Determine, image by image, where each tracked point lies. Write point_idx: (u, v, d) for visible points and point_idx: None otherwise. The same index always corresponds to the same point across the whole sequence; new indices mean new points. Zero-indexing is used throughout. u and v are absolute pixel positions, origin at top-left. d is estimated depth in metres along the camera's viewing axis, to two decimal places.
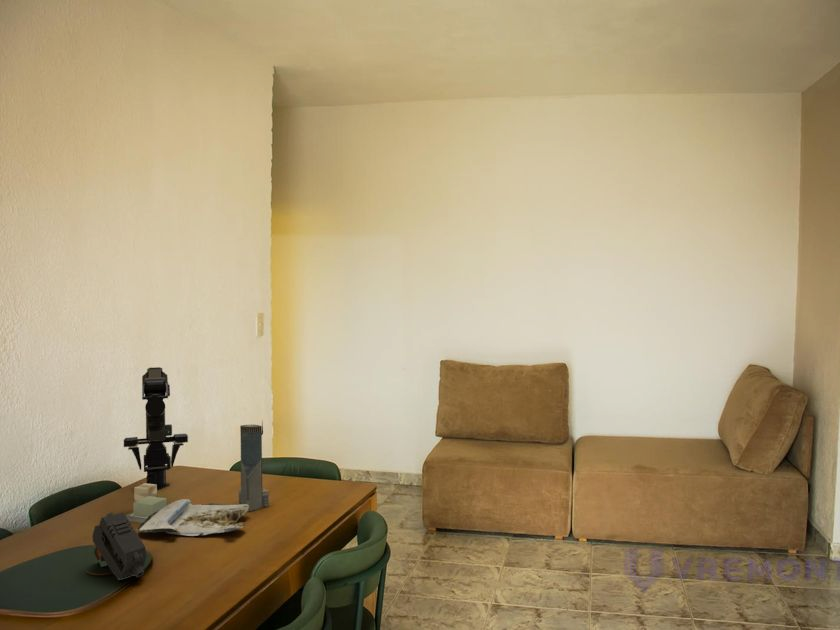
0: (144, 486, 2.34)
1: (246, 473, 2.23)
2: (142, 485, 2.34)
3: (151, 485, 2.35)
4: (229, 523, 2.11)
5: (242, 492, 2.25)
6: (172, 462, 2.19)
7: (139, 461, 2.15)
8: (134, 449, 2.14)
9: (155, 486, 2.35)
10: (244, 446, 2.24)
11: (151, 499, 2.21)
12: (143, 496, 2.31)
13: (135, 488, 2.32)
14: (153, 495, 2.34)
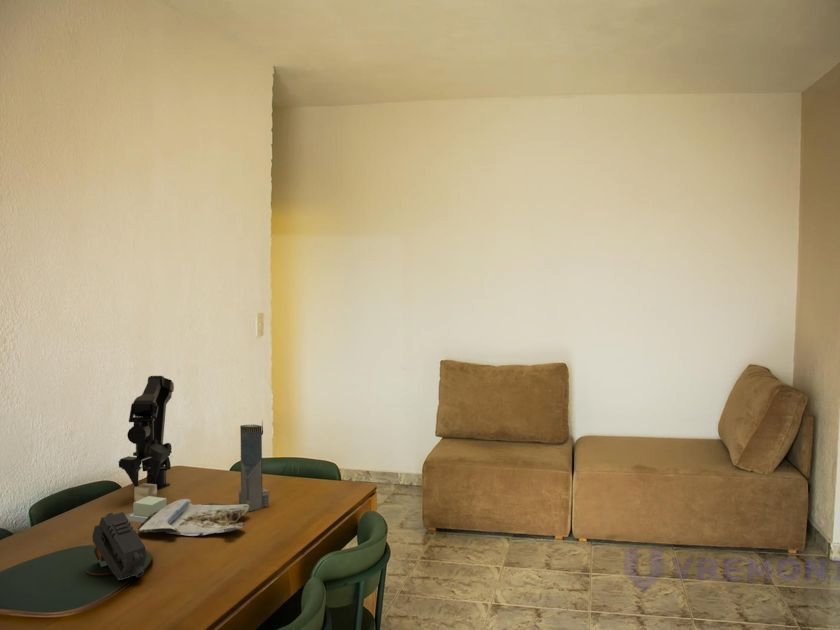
0: (144, 486, 2.34)
1: (246, 473, 2.23)
2: (142, 485, 2.34)
3: (151, 485, 2.35)
4: (229, 523, 2.11)
5: (242, 492, 2.25)
6: (157, 474, 2.38)
7: (137, 479, 2.29)
8: (138, 469, 2.27)
9: (155, 486, 2.35)
10: (244, 446, 2.24)
11: (151, 499, 2.21)
12: (143, 496, 2.31)
13: (135, 488, 2.32)
14: (153, 495, 2.34)
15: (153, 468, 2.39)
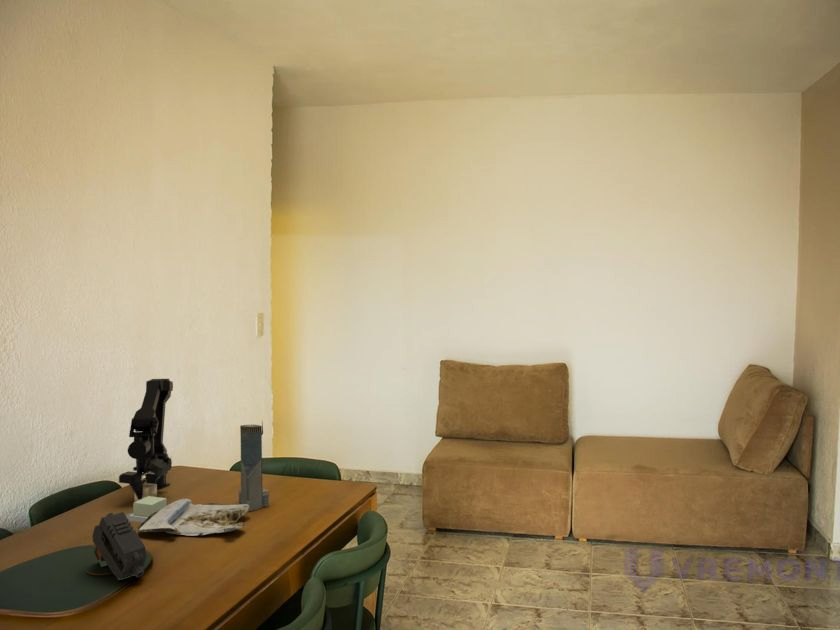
0: (144, 485, 2.34)
1: (246, 473, 2.23)
2: None
3: (151, 485, 2.35)
4: (229, 523, 2.11)
5: (242, 492, 2.25)
6: None
7: (141, 492, 2.31)
8: (142, 483, 2.29)
9: (155, 486, 2.35)
10: (244, 446, 2.24)
11: (151, 499, 2.21)
12: (143, 496, 2.32)
13: None
14: (153, 495, 2.34)
15: None
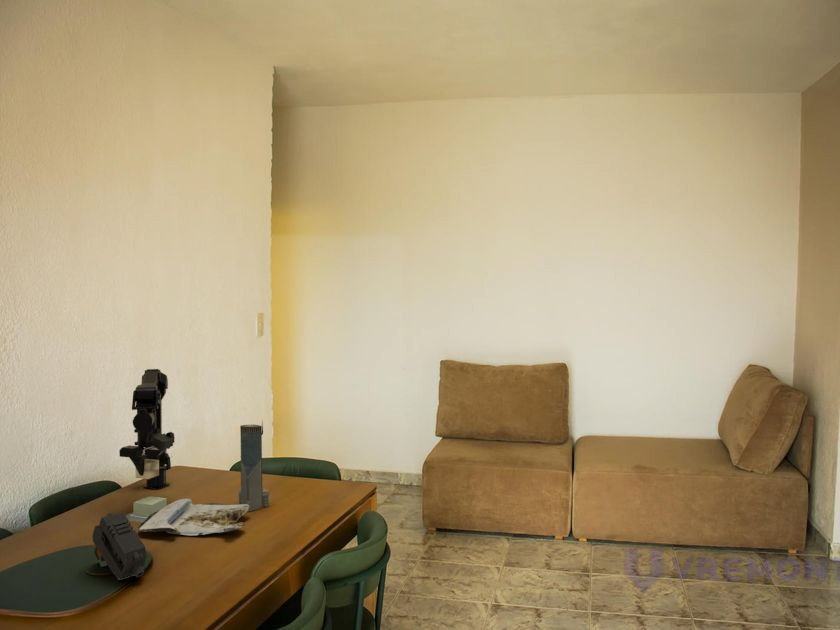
0: (145, 461, 2.25)
1: (246, 473, 2.23)
2: (144, 461, 2.25)
3: (153, 460, 2.25)
4: (229, 523, 2.11)
5: (242, 492, 2.25)
6: None
7: (143, 467, 2.22)
8: (143, 457, 2.20)
9: (157, 461, 2.26)
10: (244, 446, 2.24)
11: (151, 499, 2.21)
12: (145, 471, 2.22)
13: None
14: (155, 471, 2.25)
15: None
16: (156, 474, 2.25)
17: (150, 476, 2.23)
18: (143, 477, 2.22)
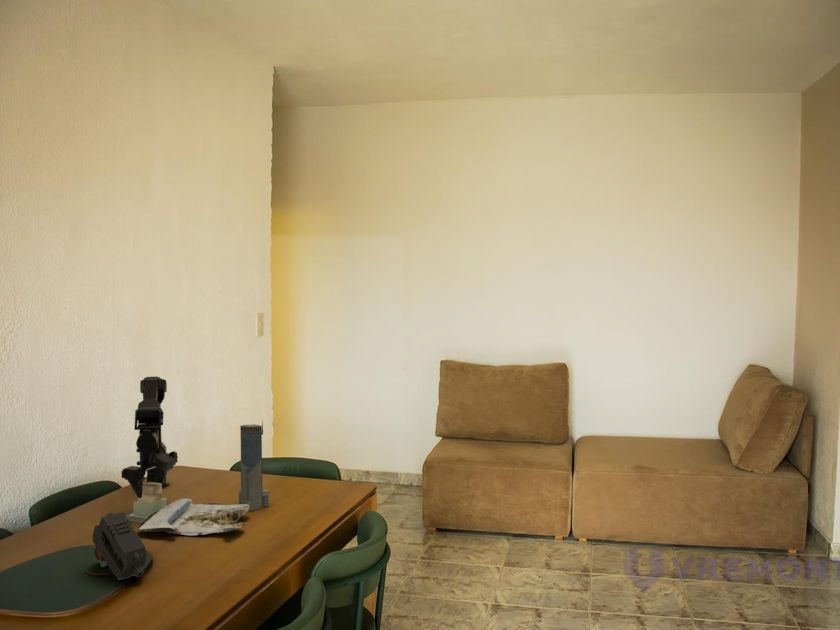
0: (148, 484, 2.20)
1: (246, 473, 2.23)
2: (146, 484, 2.20)
3: (156, 484, 2.21)
4: (229, 523, 2.11)
5: (242, 492, 2.25)
6: None
7: (141, 490, 2.15)
8: (142, 480, 2.13)
9: (160, 485, 2.21)
10: (244, 446, 2.24)
11: None
12: (147, 496, 2.17)
13: None
14: (158, 494, 2.20)
15: (158, 478, 2.25)
16: (159, 498, 2.21)
17: (153, 500, 2.18)
18: (146, 501, 2.18)
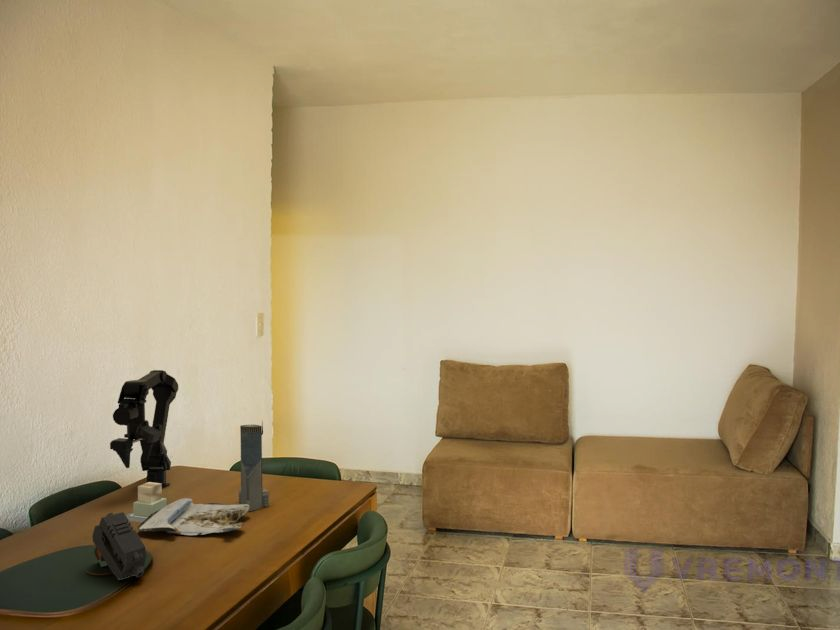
0: (148, 484, 2.20)
1: (246, 473, 2.23)
2: (146, 484, 2.20)
3: (156, 484, 2.21)
4: (229, 523, 2.11)
5: (242, 492, 2.25)
6: (148, 456, 2.38)
7: (129, 460, 2.29)
8: (129, 451, 2.27)
9: (160, 485, 2.21)
10: (244, 446, 2.24)
11: None
12: (147, 496, 2.17)
13: (139, 487, 2.18)
14: (158, 494, 2.20)
15: (144, 450, 2.38)
16: (159, 498, 2.21)
17: (153, 500, 2.18)
18: (146, 501, 2.18)
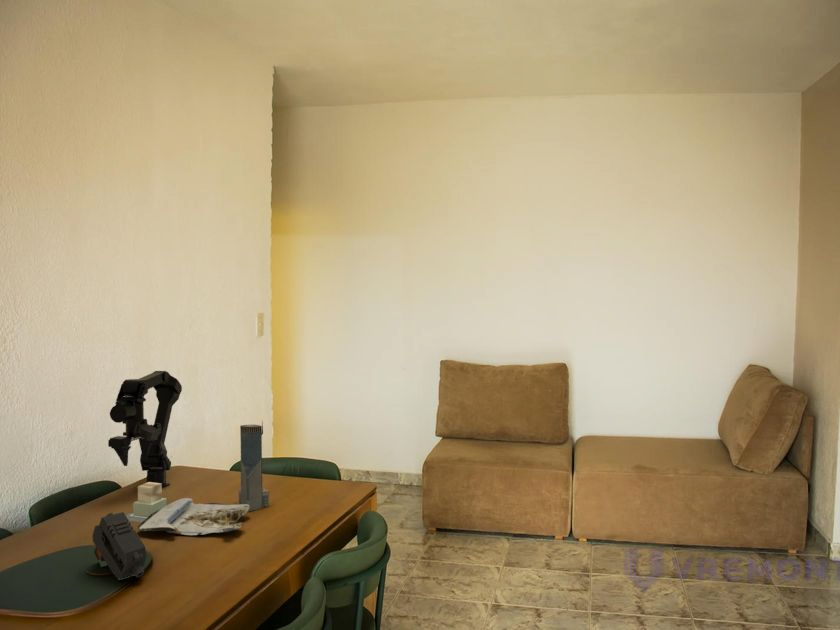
0: (148, 484, 2.20)
1: (246, 473, 2.23)
2: (146, 484, 2.20)
3: (156, 484, 2.21)
4: (229, 523, 2.11)
5: (242, 492, 2.25)
6: (146, 455, 2.39)
7: (127, 458, 2.30)
8: (127, 448, 2.28)
9: (160, 485, 2.21)
10: (244, 446, 2.24)
11: None
12: (147, 496, 2.17)
13: (139, 487, 2.18)
14: (158, 494, 2.20)
15: (143, 449, 2.39)
16: (159, 498, 2.21)
17: (153, 500, 2.18)
18: (146, 501, 2.18)
